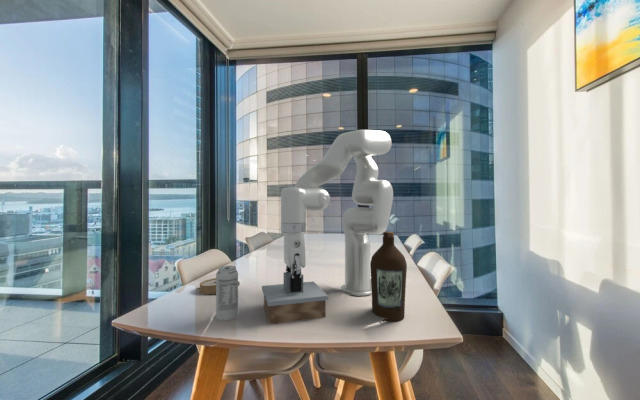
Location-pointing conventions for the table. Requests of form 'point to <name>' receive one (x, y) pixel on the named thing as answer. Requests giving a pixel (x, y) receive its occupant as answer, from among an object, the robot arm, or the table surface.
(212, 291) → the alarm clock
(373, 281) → the olive oil
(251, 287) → the table surface
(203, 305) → the table surface
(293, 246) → the robot arm
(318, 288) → the lid
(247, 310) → the table surface
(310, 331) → the table surface
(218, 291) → the energy drink can
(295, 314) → the box
